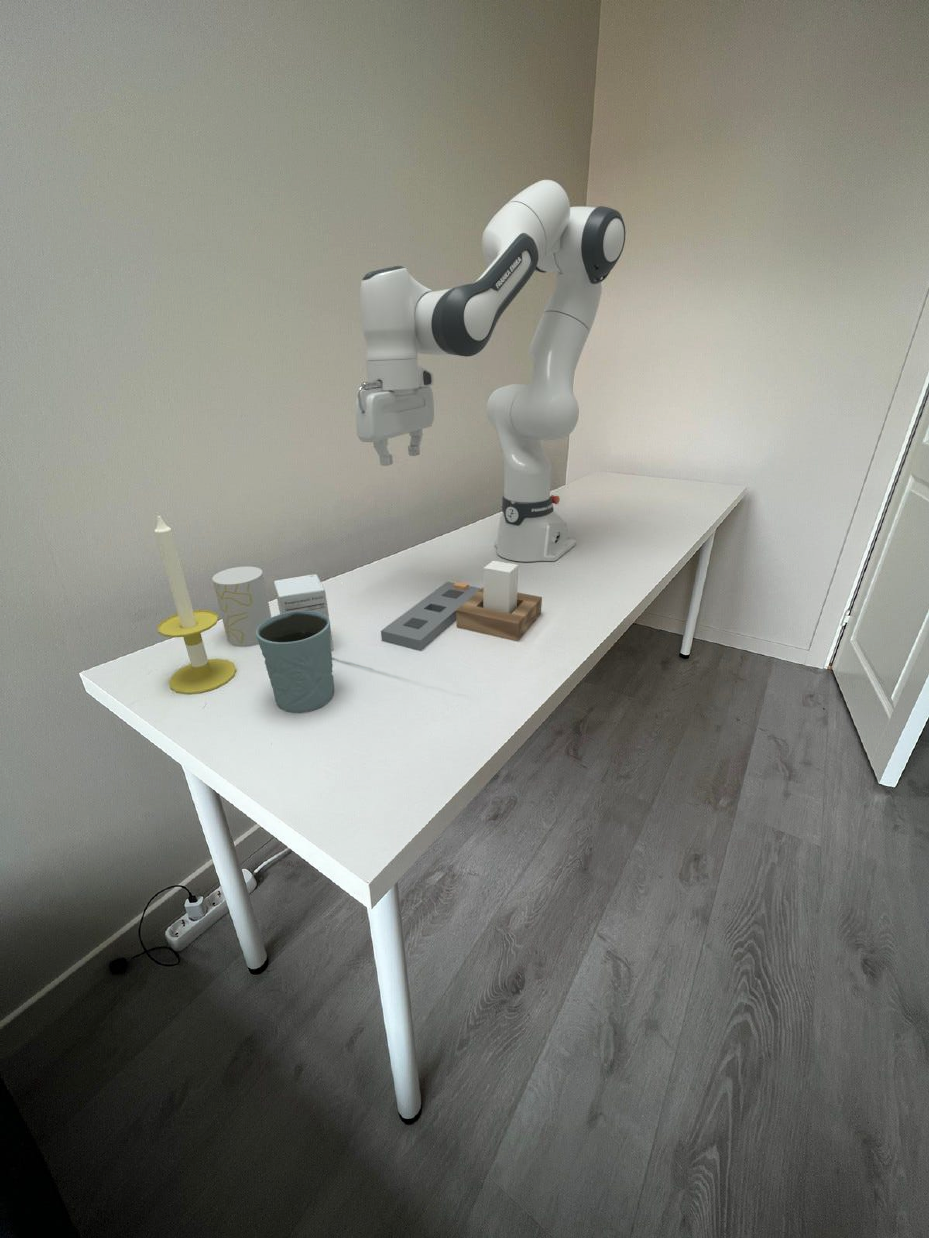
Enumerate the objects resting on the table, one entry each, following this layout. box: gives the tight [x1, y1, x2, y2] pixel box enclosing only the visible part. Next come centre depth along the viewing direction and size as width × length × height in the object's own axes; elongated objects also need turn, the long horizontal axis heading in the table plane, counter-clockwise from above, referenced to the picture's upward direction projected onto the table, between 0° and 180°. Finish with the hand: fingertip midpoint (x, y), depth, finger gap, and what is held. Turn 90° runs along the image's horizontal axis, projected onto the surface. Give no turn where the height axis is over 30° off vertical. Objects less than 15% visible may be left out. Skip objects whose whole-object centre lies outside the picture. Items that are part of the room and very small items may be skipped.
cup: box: [211, 566, 272, 648], centre depth 95 cm, size 8×8×12 cm
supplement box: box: [273, 573, 335, 652], centre depth 90 cm, size 7×7×13 cm
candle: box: [154, 512, 237, 695], centre depth 80 cm, size 10×10×27 cm
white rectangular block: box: [483, 560, 519, 614], centre depth 98 cm, size 4×5×11 cm
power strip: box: [380, 581, 483, 652], centre depth 101 cm, size 24×8×4 cm, turn 153°
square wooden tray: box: [455, 586, 543, 643], centre depth 99 cm, size 12×12×4 cm
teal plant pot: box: [256, 611, 335, 714], centre depth 78 cm, size 10×10×12 cm
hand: (401, 460), depth 99 cm, fingers open, 8 cm apart
